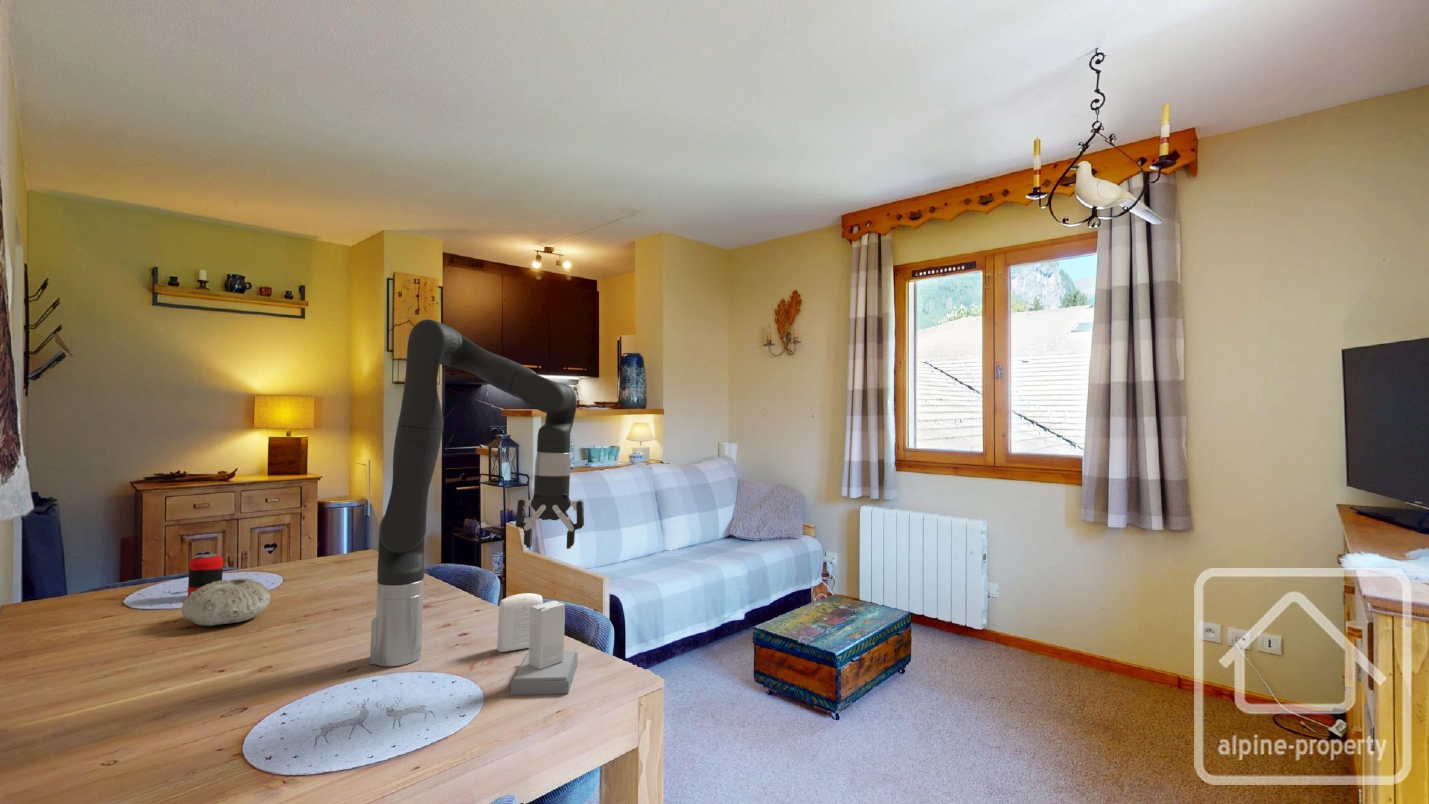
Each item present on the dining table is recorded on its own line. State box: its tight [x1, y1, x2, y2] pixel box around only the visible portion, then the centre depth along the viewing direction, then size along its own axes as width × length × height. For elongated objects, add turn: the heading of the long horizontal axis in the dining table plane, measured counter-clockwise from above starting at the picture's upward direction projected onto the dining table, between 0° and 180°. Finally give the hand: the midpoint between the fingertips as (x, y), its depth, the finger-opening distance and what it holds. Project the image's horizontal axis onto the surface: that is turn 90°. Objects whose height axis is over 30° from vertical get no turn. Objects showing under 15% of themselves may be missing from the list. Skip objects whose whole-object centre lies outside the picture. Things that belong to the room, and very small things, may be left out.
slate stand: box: [510, 650, 579, 696], centre depth 126 cm, size 11×15×3 cm
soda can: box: [187, 553, 224, 598], centre depth 177 cm, size 8×8×12 cm
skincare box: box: [528, 600, 566, 669], centre depth 127 cm, size 6×4×12 cm
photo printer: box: [496, 592, 544, 653], centre depth 144 cm, size 10×4×12 cm, turn 123°
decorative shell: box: [181, 577, 271, 627], centre depth 157 cm, size 18×18×10 cm
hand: (549, 547), depth 133 cm, fingers open, 8 cm apart
